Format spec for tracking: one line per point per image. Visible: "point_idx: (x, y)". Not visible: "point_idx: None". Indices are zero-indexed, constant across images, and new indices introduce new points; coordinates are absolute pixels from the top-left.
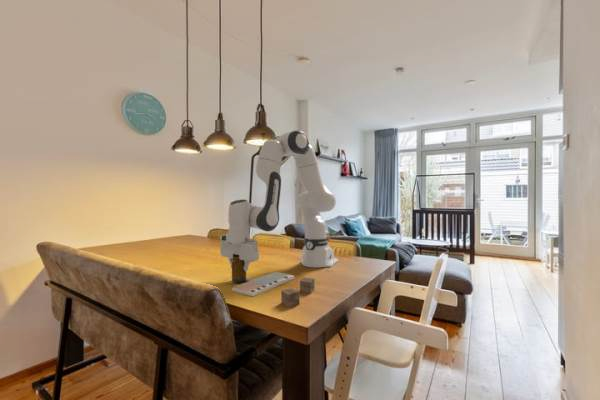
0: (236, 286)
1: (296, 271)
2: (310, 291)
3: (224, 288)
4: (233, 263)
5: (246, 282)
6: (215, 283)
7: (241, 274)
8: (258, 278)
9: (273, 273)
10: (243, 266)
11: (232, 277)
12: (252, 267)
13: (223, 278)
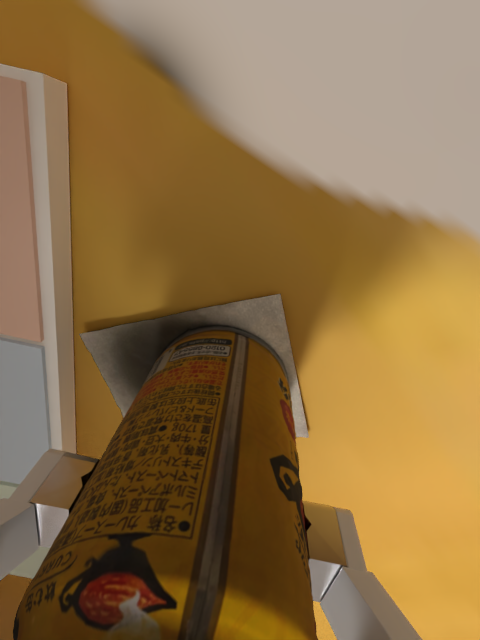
0: (15, 128)
1: (10, 616)
2: None
3: (213, 122)
4: (200, 536)
5: (35, 306)
6: (429, 242)
7: (132, 405)
8: (37, 438)
9: (37, 553)
10: (59, 513)
11: (258, 364)
12: (321, 634)
13: (420, 403)
